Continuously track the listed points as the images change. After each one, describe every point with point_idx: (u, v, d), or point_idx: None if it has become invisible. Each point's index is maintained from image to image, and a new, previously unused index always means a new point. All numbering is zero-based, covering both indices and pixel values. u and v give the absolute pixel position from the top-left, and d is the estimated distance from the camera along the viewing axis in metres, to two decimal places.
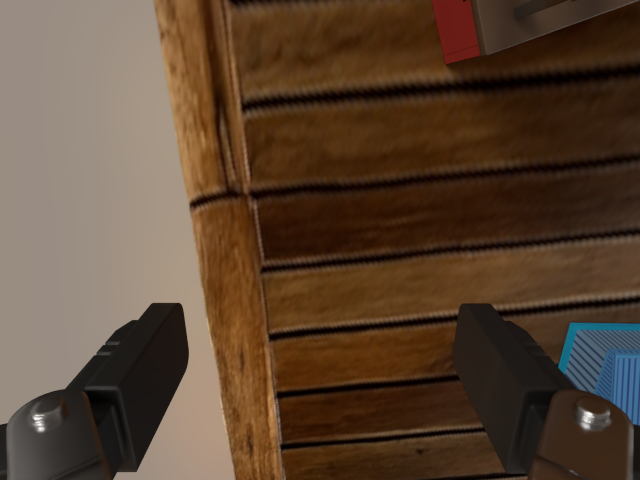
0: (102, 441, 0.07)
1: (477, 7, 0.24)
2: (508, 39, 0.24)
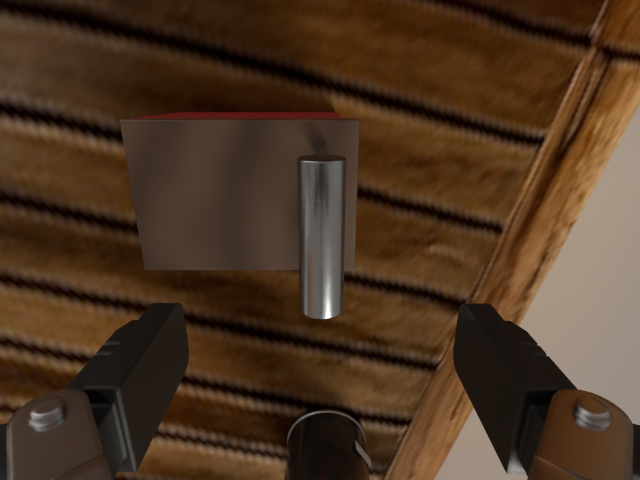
0: (102, 441, 0.07)
1: (357, 165, 0.25)
2: (335, 127, 0.24)
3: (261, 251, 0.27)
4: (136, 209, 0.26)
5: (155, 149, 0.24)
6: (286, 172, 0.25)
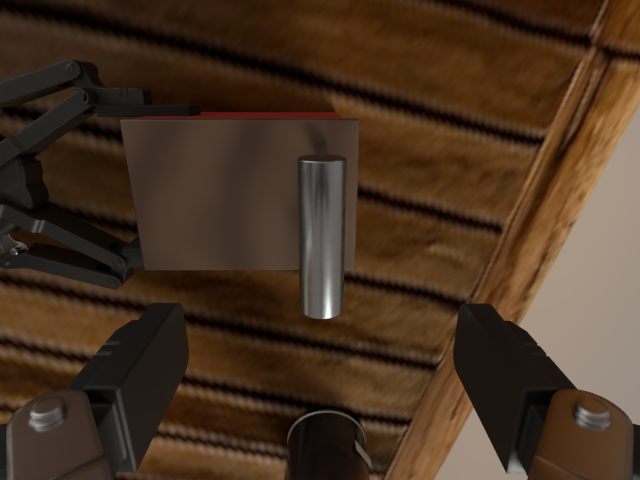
0: (102, 441, 0.07)
1: (357, 165, 0.25)
2: (336, 128, 0.24)
3: (261, 251, 0.27)
4: (136, 209, 0.26)
5: (155, 149, 0.24)
6: (286, 172, 0.25)
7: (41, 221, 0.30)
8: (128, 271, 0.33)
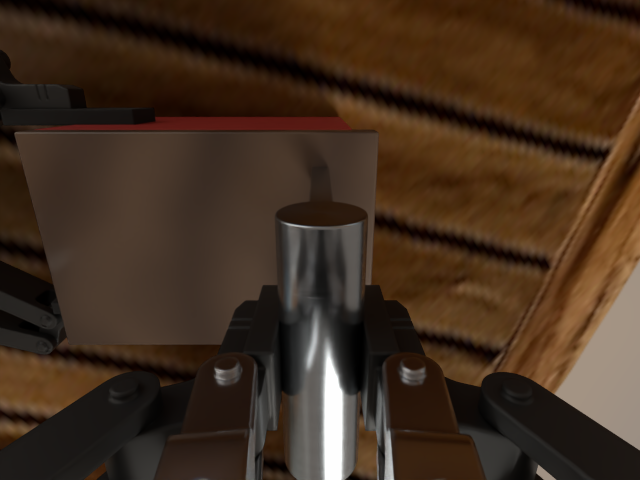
0: (263, 399, 0.08)
1: None
2: (342, 144, 0.16)
3: None
4: (50, 262, 0.18)
5: (71, 176, 0.16)
6: (269, 209, 0.17)
7: None
8: (64, 328, 0.25)
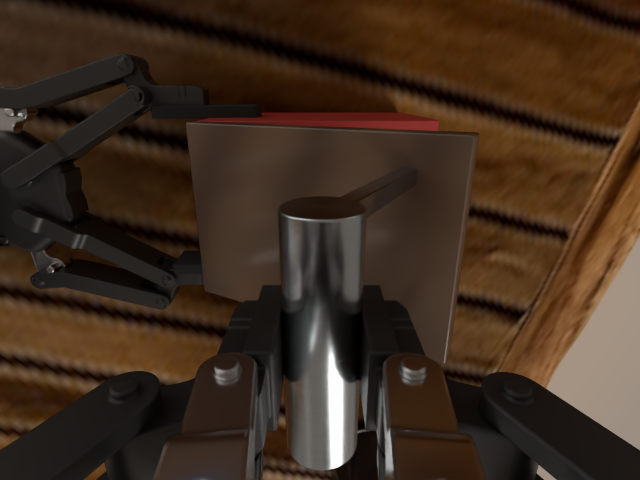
0: (263, 398, 0.08)
1: (465, 209, 0.15)
2: (434, 146, 0.15)
3: None
4: (198, 224, 0.23)
5: (215, 158, 0.21)
6: None
7: (83, 236, 0.27)
8: (176, 289, 0.30)
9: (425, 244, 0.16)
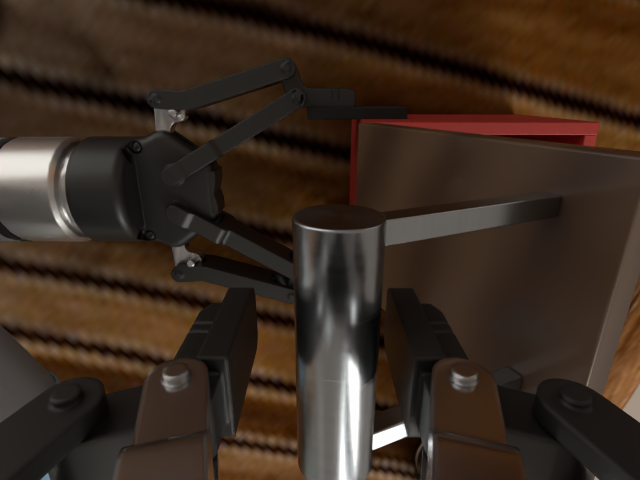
0: (216, 404, 0.08)
1: (622, 263, 0.11)
2: (588, 168, 0.11)
3: None
4: None
5: (374, 159, 0.21)
6: (488, 229, 0.15)
7: (226, 231, 0.28)
8: None
9: (559, 297, 0.12)
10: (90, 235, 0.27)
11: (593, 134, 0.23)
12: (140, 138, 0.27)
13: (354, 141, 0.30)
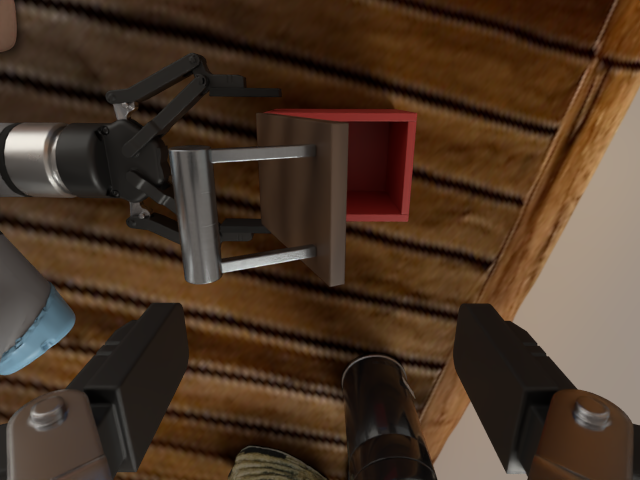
0: (102, 441, 0.07)
1: (332, 174, 0.23)
2: (320, 130, 0.23)
3: (292, 235, 0.30)
4: (259, 178, 0.36)
5: (263, 136, 0.33)
6: (300, 168, 0.26)
7: (167, 196, 0.40)
8: (220, 244, 0.43)
9: (320, 197, 0.24)
10: (73, 191, 0.39)
11: (414, 121, 0.35)
12: (108, 124, 0.39)
13: None
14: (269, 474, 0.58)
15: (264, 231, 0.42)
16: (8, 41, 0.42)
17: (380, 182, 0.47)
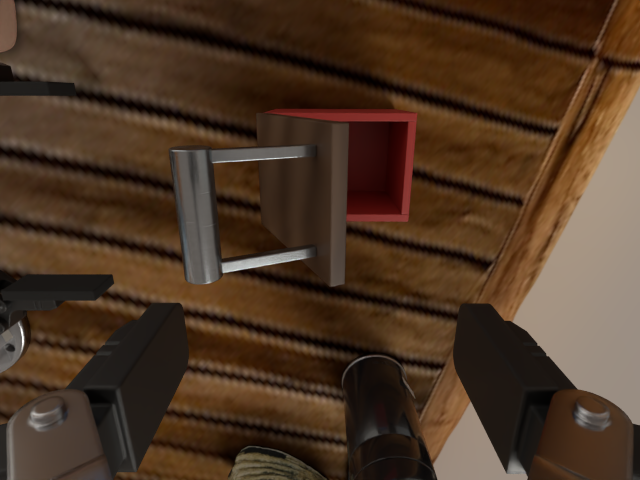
0: (102, 441, 0.07)
1: (332, 174, 0.23)
2: (320, 130, 0.23)
3: (292, 235, 0.30)
4: (259, 178, 0.36)
5: (263, 136, 0.33)
6: (301, 168, 0.26)
7: None
8: (15, 313, 0.30)
9: (320, 197, 0.24)
10: None
11: (414, 121, 0.35)
12: None
13: None
14: (269, 474, 0.58)
15: (68, 298, 0.28)
16: (8, 41, 0.42)
17: (380, 182, 0.47)
